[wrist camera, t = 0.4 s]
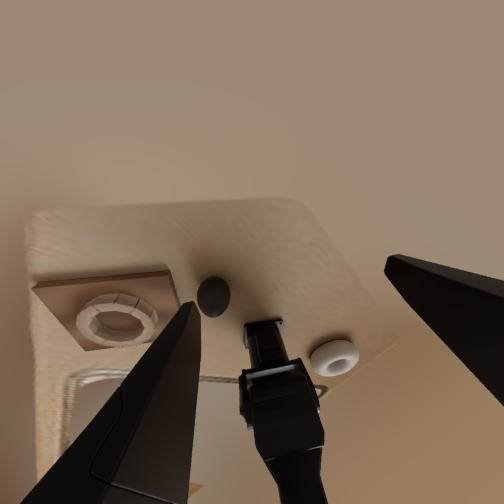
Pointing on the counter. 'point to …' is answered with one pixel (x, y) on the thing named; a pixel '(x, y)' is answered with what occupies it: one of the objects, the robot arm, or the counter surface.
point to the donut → (334, 358)
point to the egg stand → (112, 307)
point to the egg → (213, 296)
